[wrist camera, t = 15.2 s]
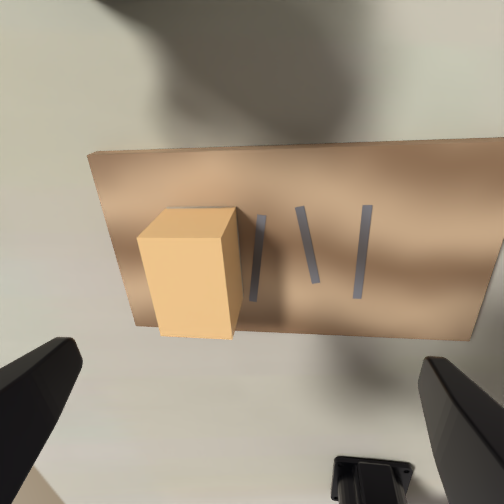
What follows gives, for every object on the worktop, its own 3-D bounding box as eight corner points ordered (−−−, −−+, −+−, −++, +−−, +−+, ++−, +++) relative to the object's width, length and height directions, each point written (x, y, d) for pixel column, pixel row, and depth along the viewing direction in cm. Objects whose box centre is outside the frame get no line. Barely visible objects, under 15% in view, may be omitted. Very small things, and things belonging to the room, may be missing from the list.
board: (462, 330, 21) (469, 341, 21) (141, 317, 25) (135, 326, 24) (523, 136, 16) (536, 140, 15) (96, 151, 19) (86, 155, 18)
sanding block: (243, 295, 21) (232, 339, 18) (183, 293, 22) (161, 336, 18) (236, 206, 18) (220, 238, 15) (167, 206, 19) (136, 237, 15)
